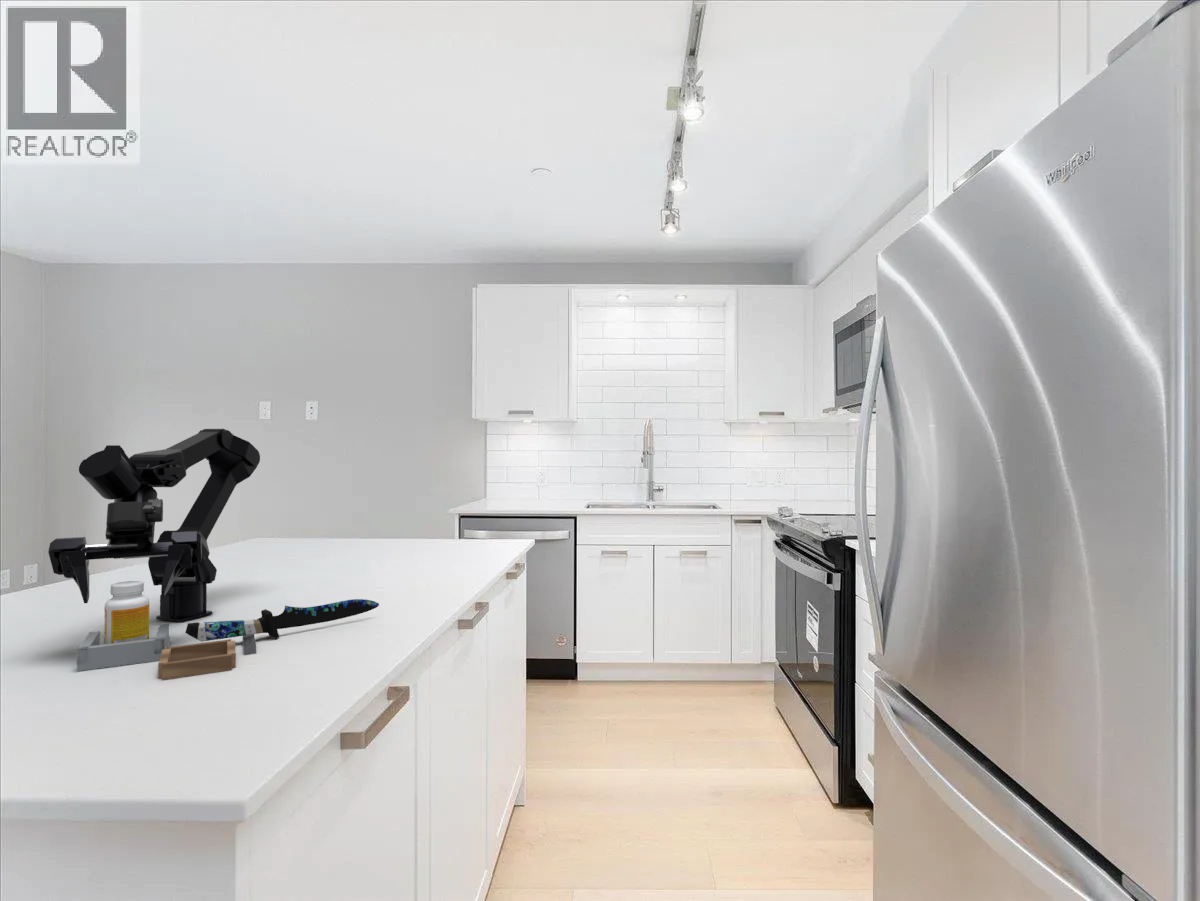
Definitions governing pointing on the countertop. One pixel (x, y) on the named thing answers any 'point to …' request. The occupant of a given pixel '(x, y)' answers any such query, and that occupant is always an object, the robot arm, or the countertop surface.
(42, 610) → the countertop surface
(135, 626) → the supplement bottle
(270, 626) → the knife
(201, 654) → the socket collar
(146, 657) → the tray
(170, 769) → the countertop surface
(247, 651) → the bar
